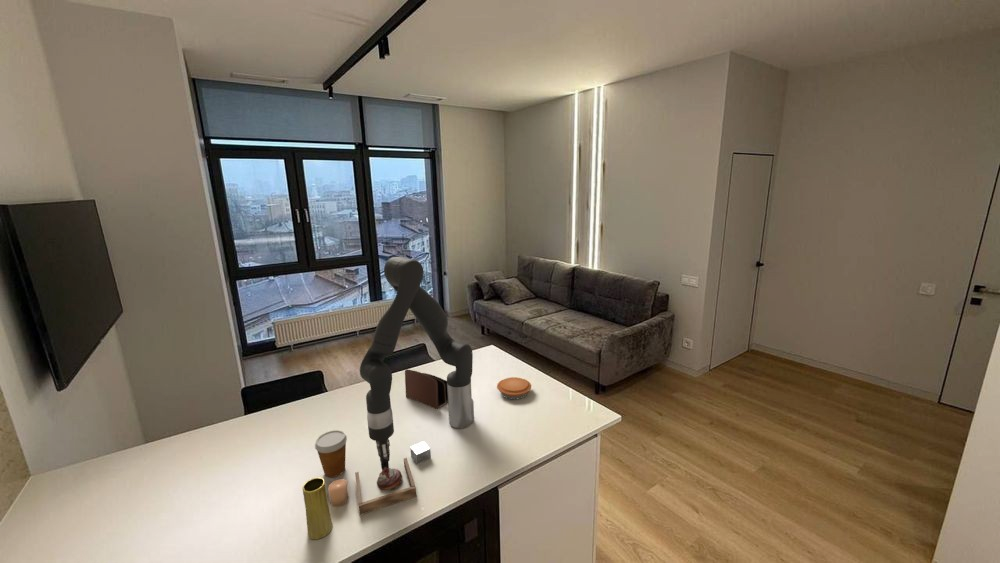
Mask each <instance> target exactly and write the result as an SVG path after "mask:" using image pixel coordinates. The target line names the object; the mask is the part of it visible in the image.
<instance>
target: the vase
mask: <svg viewBox="0 0 1000 563" xmlns="http://www.w3.org/2000/svg"><path fill="white" fill-rule="evenodd" d="M326 489H327V488H326V483H325V479H324V478H322V477H312V478H311V479H309V480H307V481H305V483H304V484H303V486H302V493H303V501H304V507H305V516H306V517H305V518H306V519H305V520H306V526H307V527H306V529H307V537H308V538H310V539H311V540H319V539H323V538H324V537H326V536H327V535H328V534H329V533H330V532H331V531H332V529H333V525H334V524H333V521H332V516H331V512H330V506H329V501H328V495H327V494H328V493H327V490H326Z"/></svg>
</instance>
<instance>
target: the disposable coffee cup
mask: <svg viewBox="0 0 1000 563" xmlns="http://www.w3.org/2000/svg"><path fill="white" fill-rule="evenodd" d="M347 441H348V435H346V433H345V432H344V431H343V430H338V429H334V430H333V429H332V430H329V431H326V432H323V433H322V434H321V435H319V436H318V437H317V439H316V440H315V444H314V449H315V450H316V451H317V455H318V458H319V462H320V464H321V468H322V470H323V474H324V476H325V477H327V478H334V477H339V476H340V475H342V474H343V473H344V471H345V470H346V449H347V448H346V447H347V445H346V444H347Z"/></svg>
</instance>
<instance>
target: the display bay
mask: <svg viewBox="0 0 1000 563" xmlns="http://www.w3.org/2000/svg"><path fill="white" fill-rule="evenodd" d="M403 466H404V470H405V474H406V477H407V481H408V484H409V487H405V488H403V489H400V490H397V491H394V492H389V493H387V494H385V495H380V496H378V497H374V498H372V499H369V500H366V501H363V498H362V490H361V482H360V481H361V480H360V474H359V471H357V472H354V473H355V474H354V475H355V482H356V483H355V484H356V485H355V486H356V494H357V503H358V506H357V507H358V513H359V516H362V515H365V514H368V513H372V512H373V511H377V510H380V509H383V508H385V507H389V506H392V505H395V504H398V503H400V502H403V501H407V500H410V499H413V498H416V497H417V487H416V484H415V480H414V477H413V474H412V470H411V467H410V464H409V461H408V458H407V457H405V458H403Z"/></svg>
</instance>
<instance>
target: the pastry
mask: <svg viewBox="0 0 1000 563" xmlns="http://www.w3.org/2000/svg"><path fill="white" fill-rule="evenodd" d="M402 480H403V475H402V473H401V471H400V470H399V469H398V468H391V467H389V468H386V467H384V470H383V471H382V470H381V471H380V473H379V474H378V477H377V481H376V484H377V485H376V486H377V488H378V489H379V490H381V491H383V492H384V491H385V492H387V491H388V492H390V491H394V490H395V489H396V488H398V487H399V486H400V485H401V482H402Z"/></svg>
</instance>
